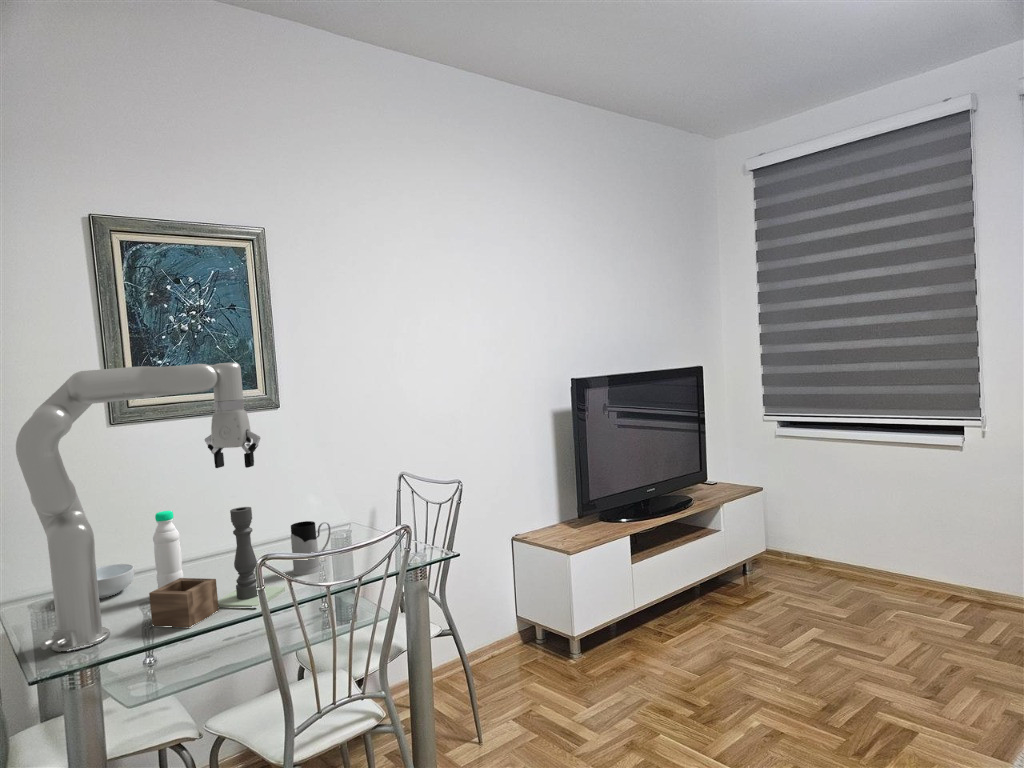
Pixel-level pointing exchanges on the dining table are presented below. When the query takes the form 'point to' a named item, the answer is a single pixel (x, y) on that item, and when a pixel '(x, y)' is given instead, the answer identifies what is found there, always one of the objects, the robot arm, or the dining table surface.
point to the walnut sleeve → (183, 602)
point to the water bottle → (167, 549)
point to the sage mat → (234, 602)
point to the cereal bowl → (113, 578)
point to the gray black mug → (306, 546)
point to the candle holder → (244, 553)
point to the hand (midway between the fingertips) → (234, 467)
